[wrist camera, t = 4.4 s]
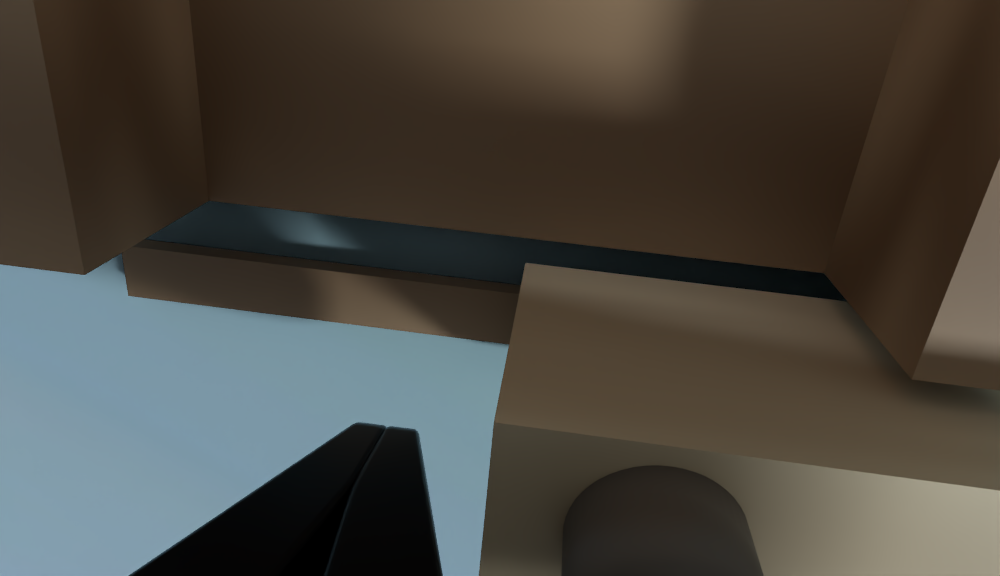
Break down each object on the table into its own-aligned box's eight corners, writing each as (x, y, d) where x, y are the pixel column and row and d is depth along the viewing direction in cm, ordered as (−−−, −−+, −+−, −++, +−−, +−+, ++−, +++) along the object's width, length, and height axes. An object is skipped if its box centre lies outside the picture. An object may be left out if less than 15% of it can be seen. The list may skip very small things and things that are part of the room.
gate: (1211, 484, 9) (1726, 899, 5) (511, 391, 10) (460, 694, 6) (1299, 355, 8) (2002, 726, 4) (524, 263, 9) (476, 506, 5)
